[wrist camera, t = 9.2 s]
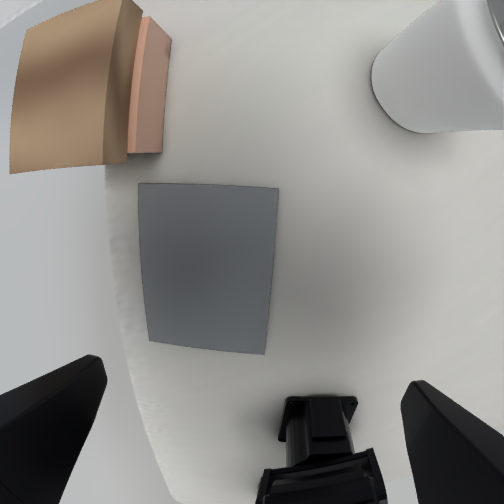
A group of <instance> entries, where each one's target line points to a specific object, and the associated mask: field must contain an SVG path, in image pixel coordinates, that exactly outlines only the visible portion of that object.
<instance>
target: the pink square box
mask: <svg viewBox="0 0 504 504" xmlns="http://www.w3.org/2000/svg"><path fill="white" fill-rule="evenodd" d="M171 41H172V39H171V38H170V37H169V36H168V35H167V34H166V33H165V32H164V30H163V29H162V28H161V27H160V26H159V25H158V24H157V23H156V22H155V21H154V20H153V19H152V18H151V17H150V16H148V17H143V18H141V23H140V29H139V34H138V41H137V47H136V54H135V61H134V69H133V77H132V86H131V97H130V109H129V124H128V147H127V154H130V153H162V141H163V123H164V108H165V96H166V85H167V75H168V65H169V57H170V49H171Z"/></svg>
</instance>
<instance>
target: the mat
mask: <svg viewBox="0 0 504 504" xmlns="http://www.w3.org/2000/svg"><path fill="white" fill-rule="evenodd" d="M278 199H279V189H277V188H264V187H248V186H231V185H210V184H178V183H139V184H138V215H139V240H140V257H141V271H142V283H143V293H144V303H145V311H146V320H147V327H148V335H149V341H154V342H160V343H166V344H172V345H179V346H186V347H194V348H201V349H209V350H218V351H227V352H238V353H249V354H261V355H264V353H265V344H266V334H267V324H268V314H269V304H270V293H271V282H272V271H273V260H274V249H275V237H276V225H277V212H278Z"/></svg>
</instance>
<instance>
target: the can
mask: <svg viewBox="0 0 504 504" xmlns="http://www.w3.org/2000/svg"><path fill="white" fill-rule="evenodd" d="M371 77H372V86H373V90H374V93H375V96H376V98H377V100H378V101H379V103H380V105H381V106H382V108H383V109H384V110H385V112H386V113H387V114H388V115H389V116H390V117H391V118H392V119H393V120H394V121H395V122H396V123H397V124H399V125H400V126H402V127H404V128H406V129H408V130H410V131H413V132H417V133H439V132H454V131H473V130H504V0H439V1H438V2H437V3H436V4H434V5H433V6H432V7H431V8H429V9H428V10H427V11H426V12H425V13H423V14H422V15H421V16H420V17H419V18H417V19H416V20H415V21H414V22H413V23H411V24H410V25H409V26H408V27H407V28H406V29H405V30H403V31H402V32H401V33H400V34H399V35H398V36H397V37H395V38H394V39H393V40H392V41H391V42H390V43H389V44H388V45H387V46H386V47H384V48H383V49H382V50H381V51H380V53H379V54H378V55H377V57H376V58H375V60H374V63H373V66H372V74H371Z"/></svg>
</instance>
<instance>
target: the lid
mask: <svg viewBox="0 0 504 504" xmlns="http://www.w3.org/2000/svg"><path fill="white" fill-rule="evenodd" d="M142 13H143V10H142V9H140V8H139V7H138V6H137V5H136V4H135V3H134V2H133V1H132V0H98V1H95V2H92V3H89V4H86V5H83V6H80V7H78V8H75V9H72V10H70V11H67V12H65V13H62V14H60V15H58V16H55V17H53V18H51V19H49V20H46V21H44V22H42V23H40V24H38V25H36V26H34V27H32V28H30V29H28V30H27V31H26V34H25V38H24V42H23V47H22V51H21V55H20V60H19V65H18V70H17V76H16V82H15V89H14V97H13V105H12V115H11V129H10V174H15V173H22V172H29V171H36V170H45V169H55V168H66V167H77V166H91V165H105V164H115V163H126V162H127V147H128V124H129V109H130V97H131V86H132V77H133V69H134V61H135V54H136V47H137V41H138V34H139V29H140V23H141V18H142Z"/></svg>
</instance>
